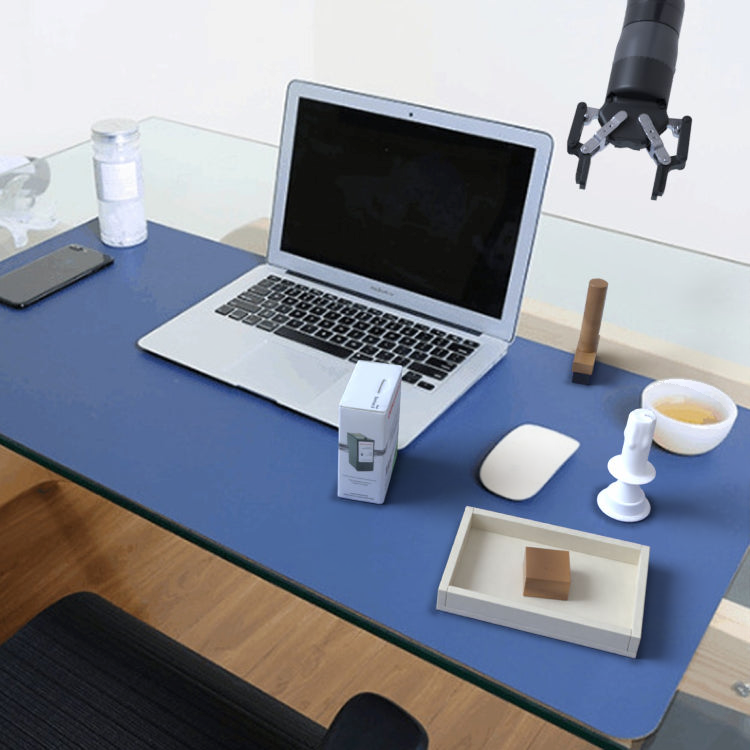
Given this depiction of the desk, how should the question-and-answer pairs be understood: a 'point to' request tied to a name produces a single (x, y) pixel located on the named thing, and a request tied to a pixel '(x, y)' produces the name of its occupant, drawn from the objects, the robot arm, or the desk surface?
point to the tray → (540, 615)
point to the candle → (631, 471)
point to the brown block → (546, 573)
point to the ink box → (369, 431)
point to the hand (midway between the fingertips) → (618, 192)
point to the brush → (589, 331)
